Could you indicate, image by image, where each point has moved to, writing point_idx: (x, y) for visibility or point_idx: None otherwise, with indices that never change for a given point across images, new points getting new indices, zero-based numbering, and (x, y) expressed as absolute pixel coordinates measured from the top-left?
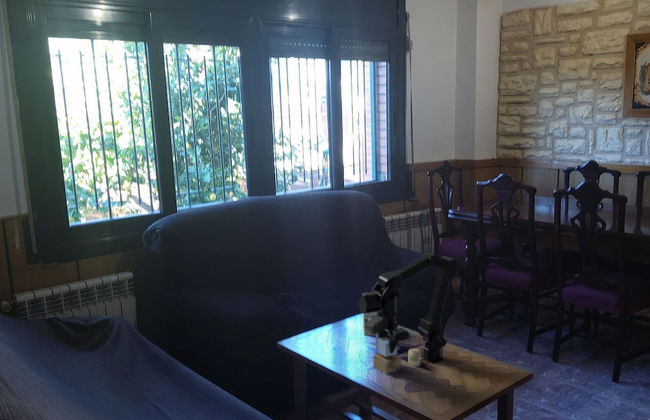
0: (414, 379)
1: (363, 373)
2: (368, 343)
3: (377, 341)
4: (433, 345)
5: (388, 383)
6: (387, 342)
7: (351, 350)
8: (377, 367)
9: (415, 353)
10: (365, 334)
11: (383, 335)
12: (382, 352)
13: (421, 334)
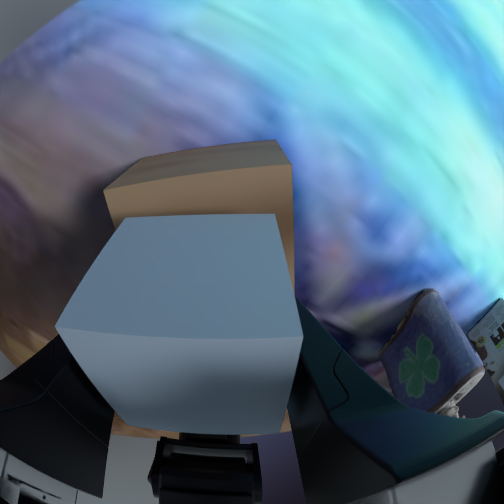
0: (59, 261)
1: (226, 28)
2: (471, 279)
3: (442, 313)
4: (173, 443)
5: (48, 123)
6: (97, 363)
7: (491, 177)
8: (228, 146)
9: None
10: (500, 301)
11: (304, 422)
12: (174, 228)
13: (224, 475)
